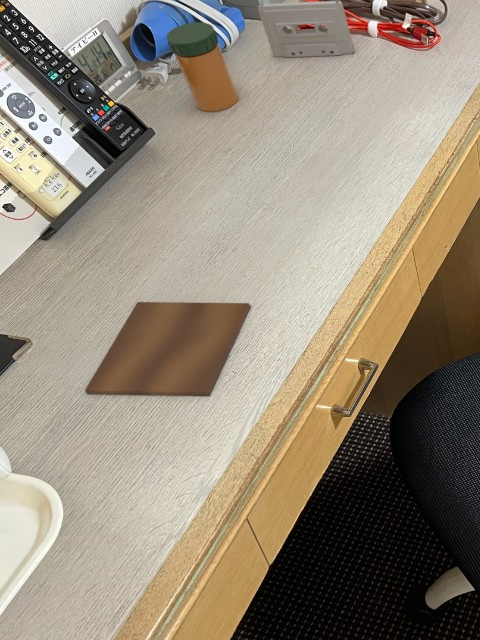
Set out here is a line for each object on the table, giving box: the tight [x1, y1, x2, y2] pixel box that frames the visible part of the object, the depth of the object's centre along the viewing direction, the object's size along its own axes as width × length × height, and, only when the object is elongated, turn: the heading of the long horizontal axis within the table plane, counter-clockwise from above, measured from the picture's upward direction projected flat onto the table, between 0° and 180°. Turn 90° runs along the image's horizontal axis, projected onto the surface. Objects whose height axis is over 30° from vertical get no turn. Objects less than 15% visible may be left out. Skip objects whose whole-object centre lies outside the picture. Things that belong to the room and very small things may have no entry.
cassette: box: [257, 0, 355, 58], centre depth 120 cm, size 12×2×8 cm, turn 92°
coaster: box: [84, 301, 251, 397], centre depth 82 cm, size 12×12×1 cm
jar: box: [174, 43, 239, 113], centre depth 110 cm, size 6×6×10 cm
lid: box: [166, 21, 219, 56], centre depth 107 cm, size 6×6×2 cm
